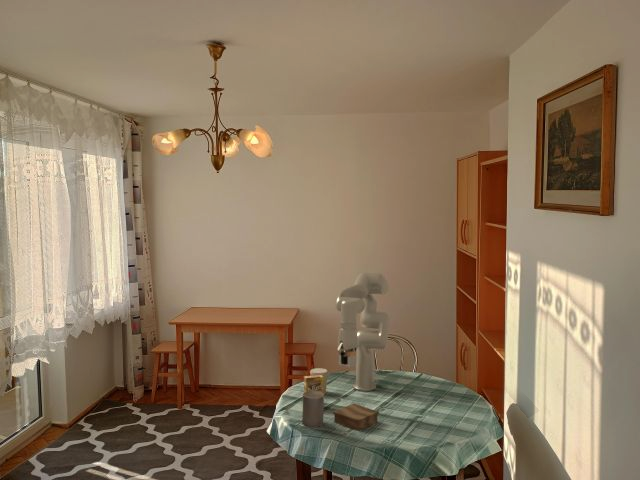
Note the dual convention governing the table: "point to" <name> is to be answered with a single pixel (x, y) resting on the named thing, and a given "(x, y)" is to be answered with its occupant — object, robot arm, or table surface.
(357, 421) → the walnut stand
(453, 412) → the table surface
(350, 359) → the housing base
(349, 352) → the cover
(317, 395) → the pillar candle
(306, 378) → the candy box
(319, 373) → the coffee cup
